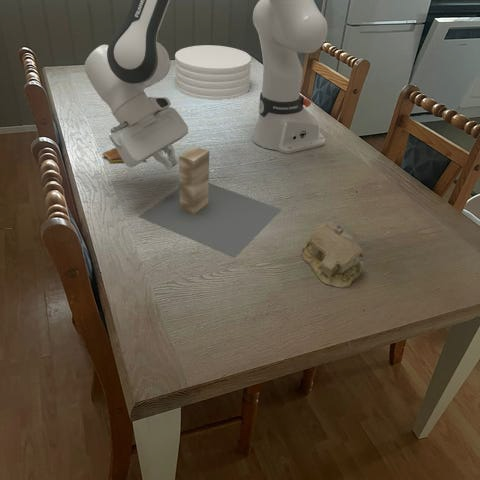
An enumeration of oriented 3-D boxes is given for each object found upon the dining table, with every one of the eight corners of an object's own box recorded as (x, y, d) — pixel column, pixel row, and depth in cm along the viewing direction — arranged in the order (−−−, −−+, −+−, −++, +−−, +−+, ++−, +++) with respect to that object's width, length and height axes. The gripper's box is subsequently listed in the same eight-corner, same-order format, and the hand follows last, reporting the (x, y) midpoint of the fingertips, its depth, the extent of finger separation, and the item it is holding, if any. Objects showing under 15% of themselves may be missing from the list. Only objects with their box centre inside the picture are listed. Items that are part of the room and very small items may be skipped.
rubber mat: (138, 218, 107) (138, 216, 107) (193, 179, 122) (193, 177, 122) (234, 259, 97) (234, 257, 97) (281, 211, 113) (281, 209, 112)
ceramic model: (373, 273, 96) (385, 235, 90) (336, 294, 91) (345, 255, 85) (325, 238, 105) (333, 201, 99) (288, 256, 100) (294, 217, 93)
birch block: (180, 209, 110) (178, 155, 101) (194, 197, 114) (194, 146, 106) (194, 214, 109) (193, 161, 100) (208, 203, 113) (209, 150, 104)
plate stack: (249, 102, 168) (251, 70, 161) (171, 98, 167) (170, 65, 160) (248, 76, 190) (250, 47, 183) (180, 72, 189) (179, 43, 182)
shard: (147, 163, 129) (147, 157, 128) (126, 173, 124) (126, 167, 123) (120, 150, 134) (120, 144, 133) (99, 160, 129) (99, 154, 128)
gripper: (112, 124, 96) (152, 179, 99) (172, 95, 111) (205, 144, 113) (98, 138, 101) (137, 190, 103) (158, 109, 115) (190, 155, 117)
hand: (173, 166), depth 108 cm, fingers closed
